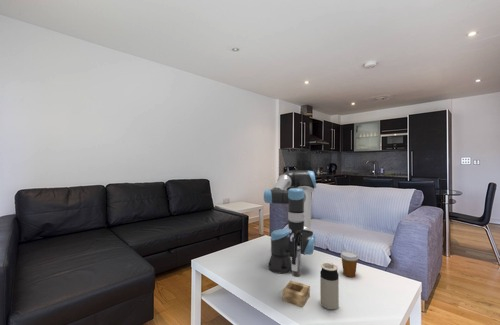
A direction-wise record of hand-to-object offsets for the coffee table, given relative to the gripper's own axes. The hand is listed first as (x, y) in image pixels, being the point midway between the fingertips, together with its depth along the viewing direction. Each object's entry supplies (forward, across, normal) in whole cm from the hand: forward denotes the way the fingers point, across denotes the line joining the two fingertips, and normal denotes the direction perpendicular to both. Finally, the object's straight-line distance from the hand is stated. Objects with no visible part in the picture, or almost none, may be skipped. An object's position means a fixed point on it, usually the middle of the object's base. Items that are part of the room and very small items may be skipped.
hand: (296, 268), depth 112 cm
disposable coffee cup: (+14, +38, -18) cm, 45 cm away
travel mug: (+15, +3, -15) cm, 21 cm away
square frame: (+14, 0, 0) cm, 14 cm away
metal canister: (+3, 0, 0) cm, 3 cm away
